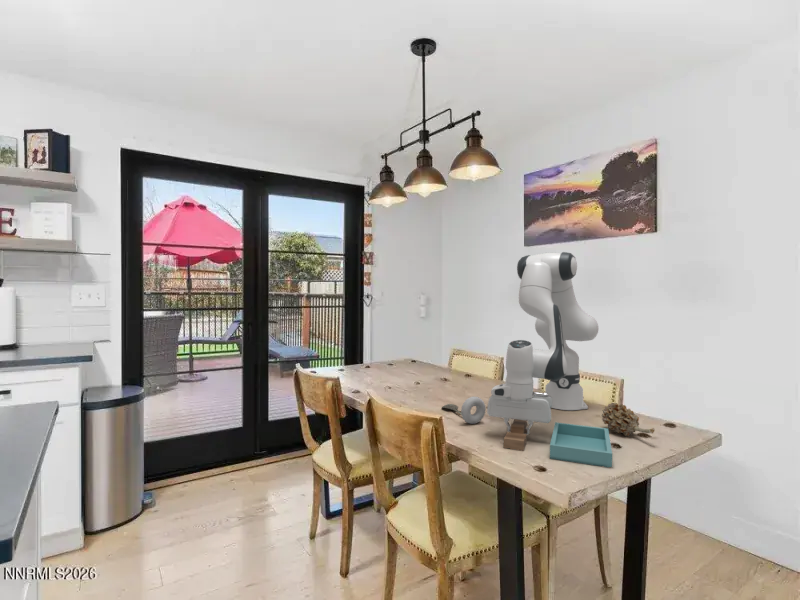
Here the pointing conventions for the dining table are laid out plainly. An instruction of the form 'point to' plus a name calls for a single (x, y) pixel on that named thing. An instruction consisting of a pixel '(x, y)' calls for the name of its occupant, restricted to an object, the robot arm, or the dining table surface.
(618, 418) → the pine cone
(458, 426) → the dining table surface
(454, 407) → the soupspoon
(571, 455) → the serving bin
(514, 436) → the stepped brown block
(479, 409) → the donut
